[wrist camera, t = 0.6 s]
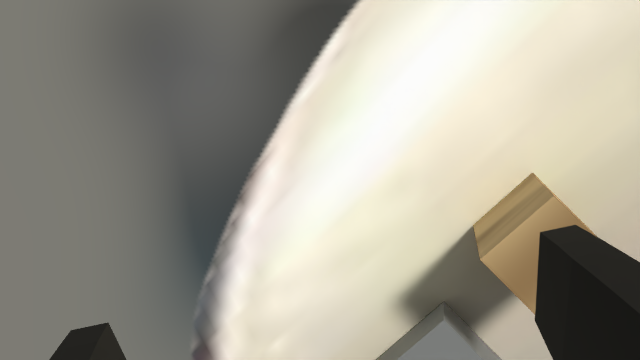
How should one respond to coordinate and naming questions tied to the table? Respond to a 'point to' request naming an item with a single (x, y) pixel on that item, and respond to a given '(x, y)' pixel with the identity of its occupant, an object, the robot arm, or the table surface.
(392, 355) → the slate stand
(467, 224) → the table surface
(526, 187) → the oak block
